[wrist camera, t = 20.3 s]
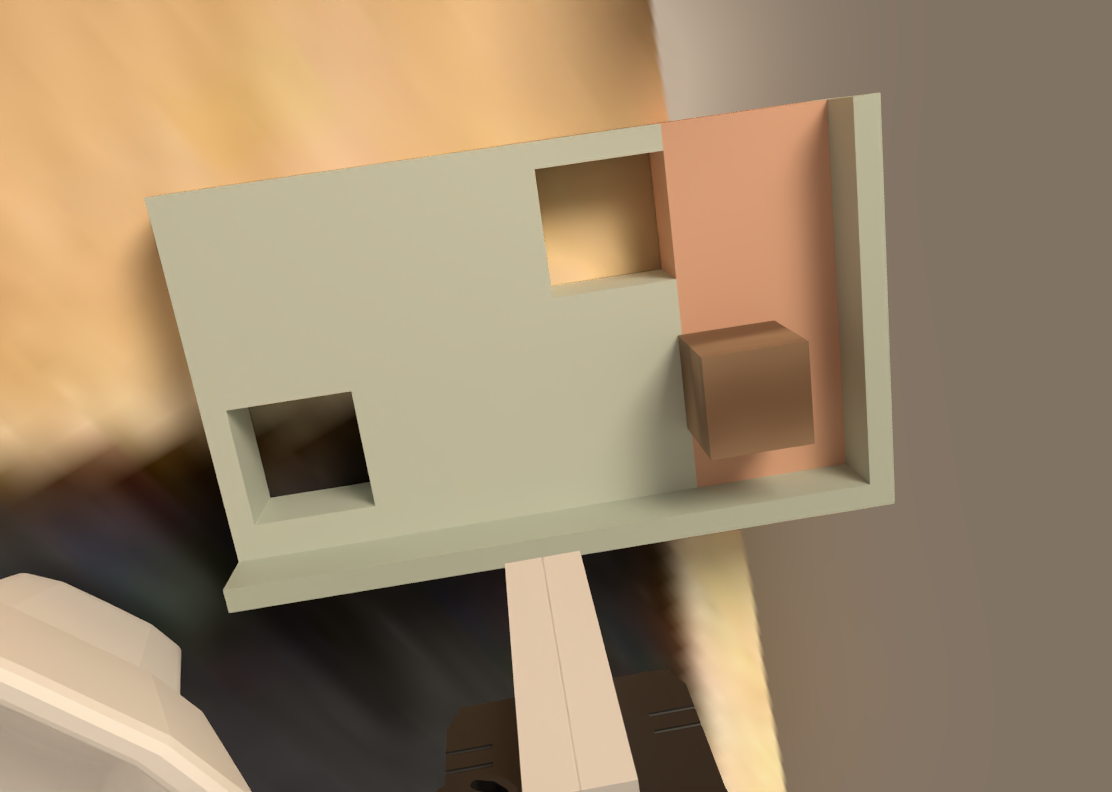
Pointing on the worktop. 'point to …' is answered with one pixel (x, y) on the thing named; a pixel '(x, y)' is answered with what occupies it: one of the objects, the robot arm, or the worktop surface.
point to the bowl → (96, 700)
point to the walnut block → (747, 389)
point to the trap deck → (531, 347)
